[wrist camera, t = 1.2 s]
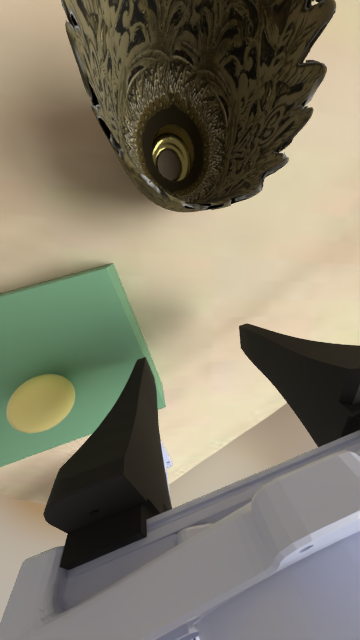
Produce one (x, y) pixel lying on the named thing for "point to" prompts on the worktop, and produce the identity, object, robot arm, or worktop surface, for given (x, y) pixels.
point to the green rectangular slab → (68, 352)
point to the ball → (40, 403)
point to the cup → (199, 88)
